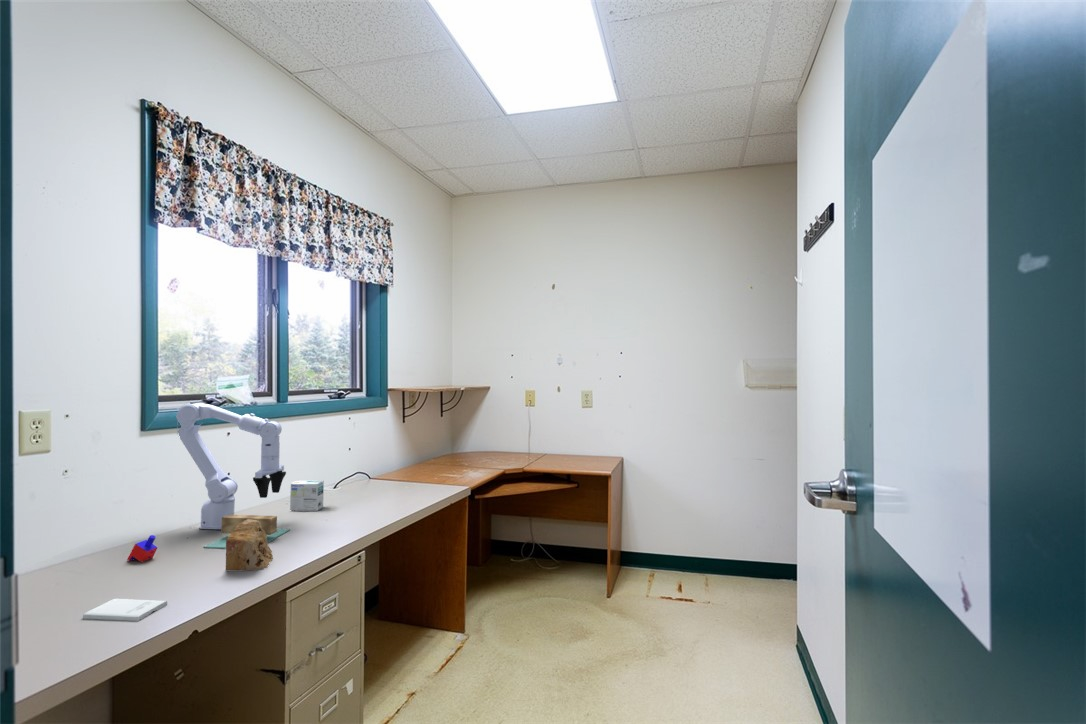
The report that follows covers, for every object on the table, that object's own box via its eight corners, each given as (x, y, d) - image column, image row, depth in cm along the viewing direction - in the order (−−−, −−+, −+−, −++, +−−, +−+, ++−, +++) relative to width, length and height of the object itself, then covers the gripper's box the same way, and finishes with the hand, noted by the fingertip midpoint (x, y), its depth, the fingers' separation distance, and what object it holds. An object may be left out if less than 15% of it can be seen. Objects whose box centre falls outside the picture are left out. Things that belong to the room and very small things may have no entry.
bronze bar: (221, 533, 167) (221, 517, 167) (228, 530, 171) (228, 514, 171) (270, 534, 167) (271, 518, 167) (276, 531, 170) (277, 516, 170)
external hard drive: (115, 604, 121) (167, 606, 120) (82, 621, 113) (138, 623, 112) (115, 597, 121) (167, 599, 120) (82, 613, 113) (138, 615, 112)
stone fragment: (260, 572, 154) (233, 529, 155) (291, 552, 155) (263, 509, 156) (234, 589, 140) (204, 542, 141) (268, 567, 141) (238, 519, 142)
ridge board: (203, 548, 159) (203, 541, 159) (243, 528, 179) (243, 523, 179) (255, 549, 158) (255, 543, 158) (289, 530, 178) (289, 524, 178)
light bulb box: (323, 507, 210) (324, 480, 210) (317, 511, 203) (318, 483, 204) (296, 507, 210) (297, 479, 210) (289, 511, 203) (290, 483, 203)
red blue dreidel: (138, 567, 146) (151, 542, 146) (126, 559, 147) (139, 534, 147) (149, 563, 150) (162, 538, 150) (138, 555, 150) (150, 531, 150)
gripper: (269, 459, 177) (269, 499, 177) (292, 453, 192) (291, 490, 192) (249, 459, 178) (248, 499, 177) (273, 452, 192) (272, 490, 192)
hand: (269, 494), depth 185 cm, fingers open, 7 cm apart
